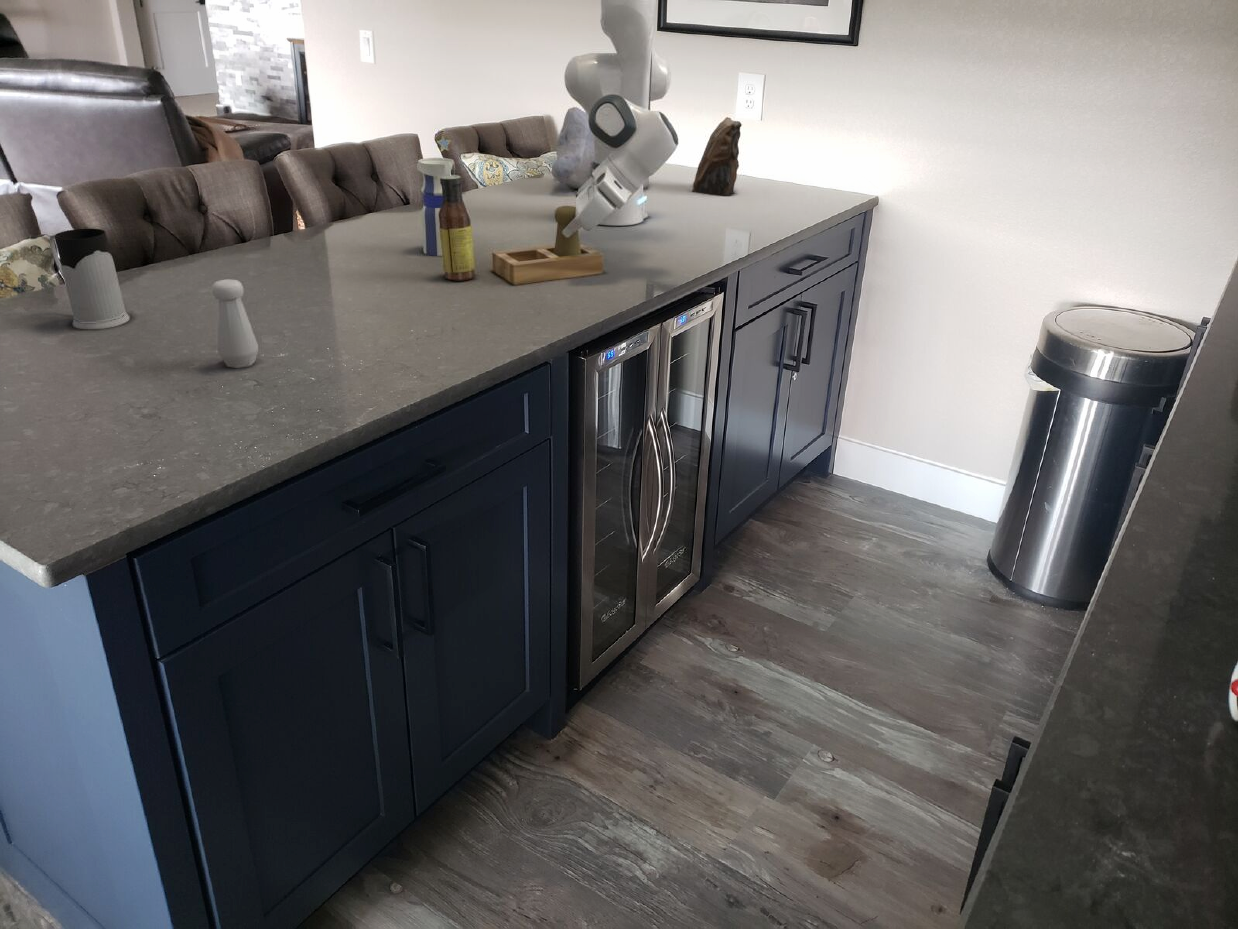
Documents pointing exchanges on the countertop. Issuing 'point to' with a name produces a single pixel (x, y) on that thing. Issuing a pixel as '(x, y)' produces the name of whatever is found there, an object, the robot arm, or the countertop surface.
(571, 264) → the socket block
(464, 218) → the sauce bottle
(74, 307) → the glass holder
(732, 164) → the rock
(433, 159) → the blue tall piece
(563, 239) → the olive green game pawn
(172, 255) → the countertop surface
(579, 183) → the rock
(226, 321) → the salt shaker
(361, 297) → the countertop surface
